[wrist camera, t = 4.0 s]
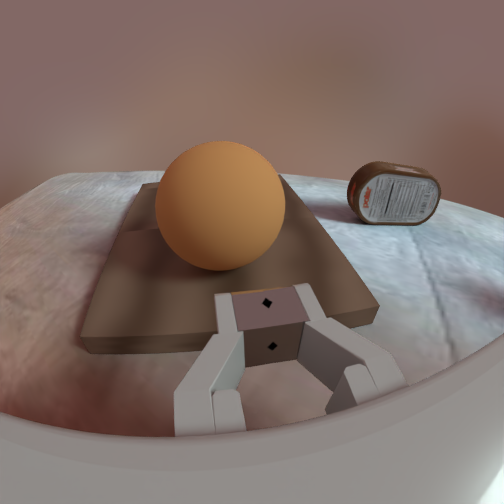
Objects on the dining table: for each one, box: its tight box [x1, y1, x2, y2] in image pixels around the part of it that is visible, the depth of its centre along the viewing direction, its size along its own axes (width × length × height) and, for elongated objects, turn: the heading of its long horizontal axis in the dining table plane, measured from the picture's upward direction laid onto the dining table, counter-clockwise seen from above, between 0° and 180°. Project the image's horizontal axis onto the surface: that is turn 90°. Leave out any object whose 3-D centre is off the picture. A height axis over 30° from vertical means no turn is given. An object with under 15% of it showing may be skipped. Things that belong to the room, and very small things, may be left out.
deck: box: [80, 175, 380, 354], centre depth 30 cm, size 22×30×2 cm
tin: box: [347, 161, 441, 226], centre depth 33 cm, size 15×3×8 cm, turn 95°
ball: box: [155, 141, 285, 271], centre depth 21 cm, size 10×10×10 cm
